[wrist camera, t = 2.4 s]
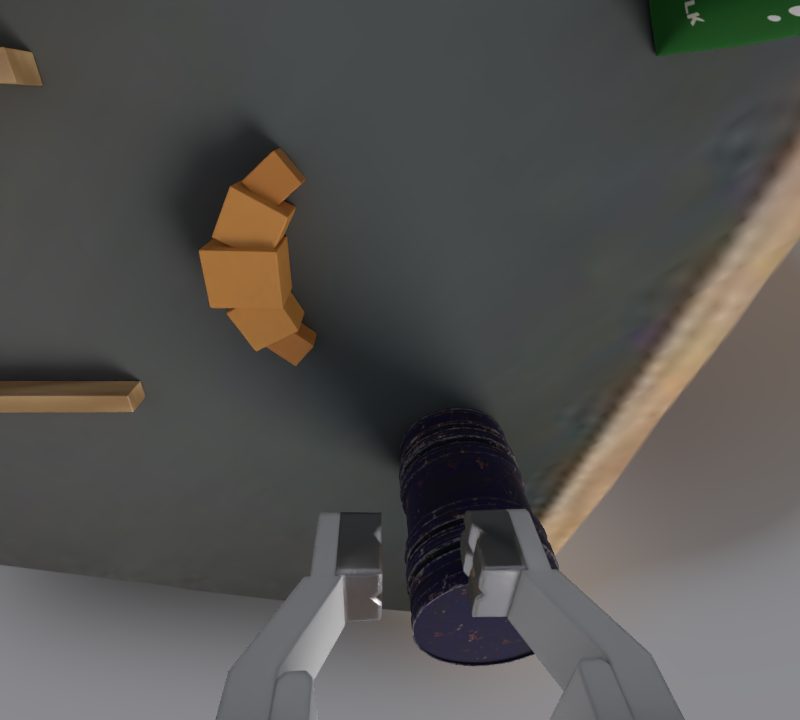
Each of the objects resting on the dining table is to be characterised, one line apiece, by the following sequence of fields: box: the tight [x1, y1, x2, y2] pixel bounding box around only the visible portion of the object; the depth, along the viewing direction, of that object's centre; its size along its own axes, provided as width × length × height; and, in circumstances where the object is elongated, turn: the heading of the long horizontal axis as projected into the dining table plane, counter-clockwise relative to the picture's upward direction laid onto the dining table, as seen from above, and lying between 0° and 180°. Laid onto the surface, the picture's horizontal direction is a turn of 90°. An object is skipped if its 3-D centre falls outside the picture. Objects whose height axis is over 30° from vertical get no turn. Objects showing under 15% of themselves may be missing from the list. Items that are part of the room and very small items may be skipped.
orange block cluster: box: [199, 148, 317, 366], centre depth 27 cm, size 14×6×4 cm, turn 178°
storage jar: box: [399, 408, 559, 666], centre depth 31 cm, size 10×10×15 cm
